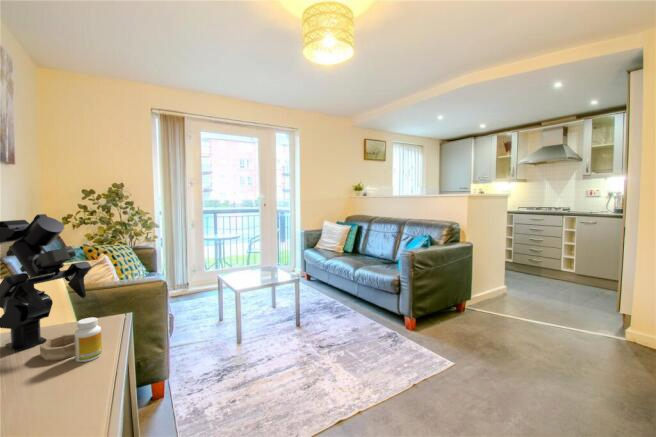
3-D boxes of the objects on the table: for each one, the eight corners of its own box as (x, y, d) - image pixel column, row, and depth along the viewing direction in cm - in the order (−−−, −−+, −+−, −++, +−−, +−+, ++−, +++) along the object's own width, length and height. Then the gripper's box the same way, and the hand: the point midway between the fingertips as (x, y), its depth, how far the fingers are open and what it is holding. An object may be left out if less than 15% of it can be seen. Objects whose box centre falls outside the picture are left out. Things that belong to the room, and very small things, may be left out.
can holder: (35, 355, 76) (35, 344, 76) (74, 341, 84) (74, 331, 84) (52, 364, 73) (51, 352, 72) (91, 348, 80) (91, 337, 80)
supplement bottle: (107, 353, 78) (106, 317, 78) (85, 364, 73) (84, 326, 72) (91, 350, 80) (90, 314, 79) (69, 360, 75) (68, 323, 74)
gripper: (1, 242, 69) (37, 294, 67) (86, 233, 87) (116, 274, 84) (-20, 273, 71) (14, 324, 69) (67, 258, 89) (96, 298, 87)
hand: (65, 302), depth 77 cm, fingers open, 9 cm apart
